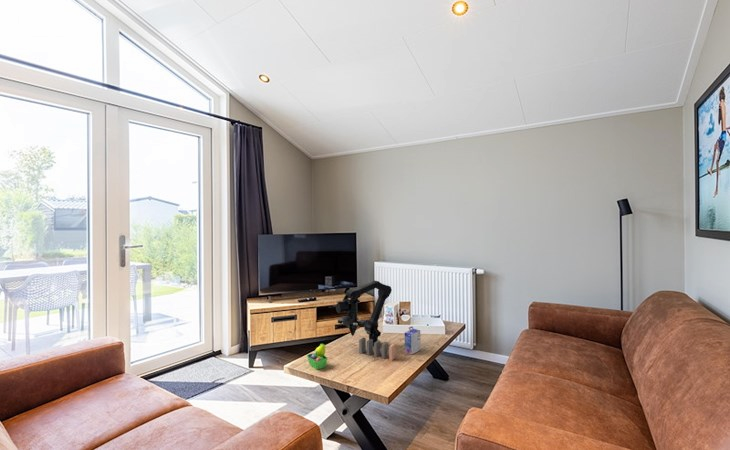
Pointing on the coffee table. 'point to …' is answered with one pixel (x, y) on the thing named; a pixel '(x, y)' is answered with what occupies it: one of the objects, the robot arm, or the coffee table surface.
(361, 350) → the domino
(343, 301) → the robot arm
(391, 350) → the domino
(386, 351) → the domino
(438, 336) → the coffee table surface
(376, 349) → the domino
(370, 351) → the domino
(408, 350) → the ink cartridge box
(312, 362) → the fruit basket
